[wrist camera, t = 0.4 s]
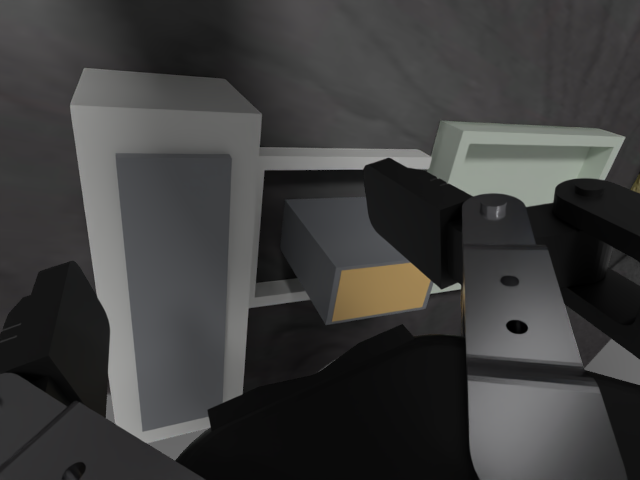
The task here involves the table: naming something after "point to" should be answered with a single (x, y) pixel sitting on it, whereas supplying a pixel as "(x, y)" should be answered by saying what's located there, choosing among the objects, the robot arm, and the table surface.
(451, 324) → the table surface
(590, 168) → the tray
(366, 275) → the block
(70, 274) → the robot arm
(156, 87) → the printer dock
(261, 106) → the table surface
